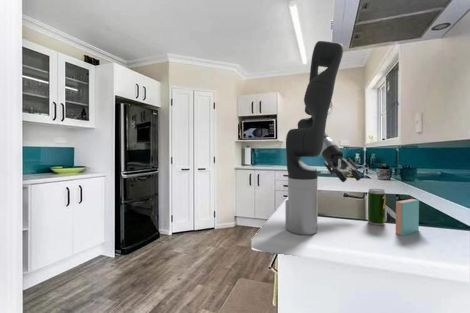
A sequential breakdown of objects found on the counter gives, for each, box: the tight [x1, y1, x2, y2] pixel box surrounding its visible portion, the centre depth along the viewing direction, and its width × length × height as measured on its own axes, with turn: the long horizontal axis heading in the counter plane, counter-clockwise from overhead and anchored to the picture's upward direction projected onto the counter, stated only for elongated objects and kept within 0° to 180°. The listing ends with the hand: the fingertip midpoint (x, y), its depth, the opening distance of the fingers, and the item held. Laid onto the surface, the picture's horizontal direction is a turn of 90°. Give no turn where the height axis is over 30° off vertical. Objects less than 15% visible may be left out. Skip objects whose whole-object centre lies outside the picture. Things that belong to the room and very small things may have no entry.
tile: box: [395, 198, 420, 236], centre depth 78 cm, size 2×9×10 cm, turn 117°
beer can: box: [367, 188, 386, 226], centre depth 87 cm, size 5×5×12 cm
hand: (352, 180), depth 95 cm, fingers open, 8 cm apart
